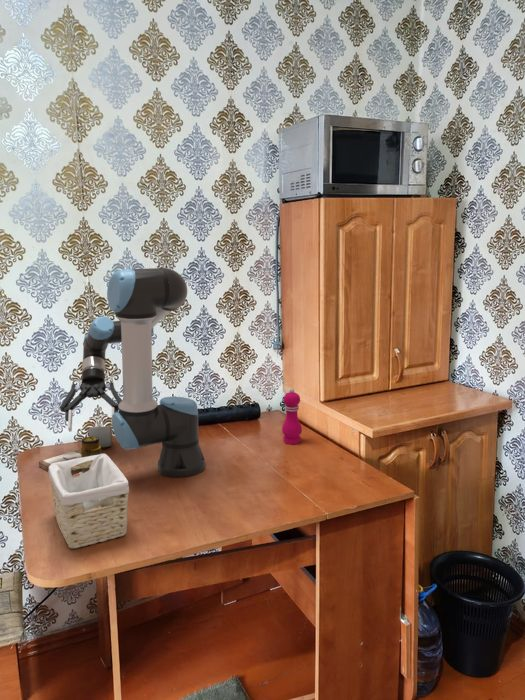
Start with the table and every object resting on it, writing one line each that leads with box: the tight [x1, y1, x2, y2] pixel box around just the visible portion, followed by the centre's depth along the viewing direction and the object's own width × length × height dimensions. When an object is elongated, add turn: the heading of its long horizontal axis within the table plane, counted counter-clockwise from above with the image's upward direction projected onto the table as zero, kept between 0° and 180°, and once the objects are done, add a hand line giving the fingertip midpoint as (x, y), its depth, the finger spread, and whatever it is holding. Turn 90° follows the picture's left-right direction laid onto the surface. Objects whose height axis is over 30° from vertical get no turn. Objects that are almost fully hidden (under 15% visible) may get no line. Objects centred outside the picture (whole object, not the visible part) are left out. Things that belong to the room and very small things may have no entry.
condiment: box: [78, 436, 102, 476], centre depth 177 cm, size 7×8×12 cm
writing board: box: [38, 450, 83, 475], centre depth 186 cm, size 14×13×2 cm
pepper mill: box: [281, 387, 303, 445], centre depth 204 cm, size 7×7×20 cm
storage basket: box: [47, 453, 130, 549], centre depth 146 cm, size 24×16×15 cm
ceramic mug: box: [88, 426, 114, 449], centre depth 204 cm, size 11×8×8 cm
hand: (91, 428), depth 184 cm, fingers open, 13 cm apart
